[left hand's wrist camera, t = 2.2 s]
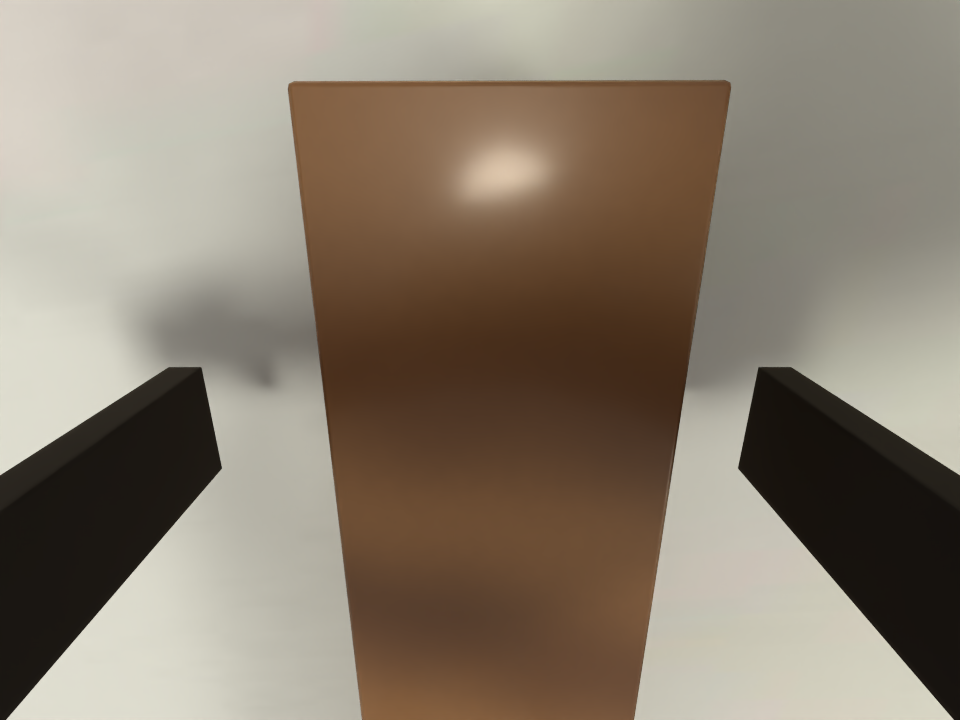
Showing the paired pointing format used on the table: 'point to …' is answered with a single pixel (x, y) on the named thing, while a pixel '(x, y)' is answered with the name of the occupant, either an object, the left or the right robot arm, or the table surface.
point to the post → (504, 374)
